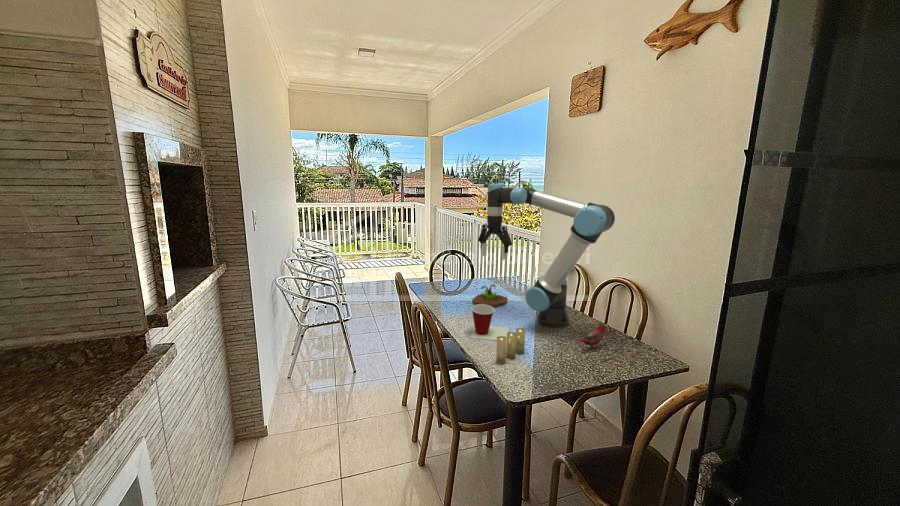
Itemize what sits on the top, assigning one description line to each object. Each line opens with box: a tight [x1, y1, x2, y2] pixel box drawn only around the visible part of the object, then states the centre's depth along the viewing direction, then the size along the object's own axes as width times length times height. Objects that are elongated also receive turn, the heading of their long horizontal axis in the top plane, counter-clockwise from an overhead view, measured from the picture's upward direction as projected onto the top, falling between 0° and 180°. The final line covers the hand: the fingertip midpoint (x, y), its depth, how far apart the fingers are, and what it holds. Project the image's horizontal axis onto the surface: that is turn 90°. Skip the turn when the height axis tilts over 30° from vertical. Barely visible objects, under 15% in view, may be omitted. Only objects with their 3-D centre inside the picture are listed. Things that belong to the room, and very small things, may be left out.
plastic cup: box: [470, 304, 496, 335], centre depth 169 cm, size 11×11×12 cm
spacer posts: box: [496, 327, 526, 365], centre depth 146 cm, size 4×16×10 cm, turn 133°
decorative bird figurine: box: [575, 323, 607, 350], centre depth 152 cm, size 3×18×10 cm, turn 118°
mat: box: [469, 325, 510, 342], centre depth 171 cm, size 16×16×1 cm
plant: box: [471, 284, 508, 309], centre depth 215 cm, size 20×20×11 cm
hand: (494, 257), depth 185 cm, fingers open, 13 cm apart
